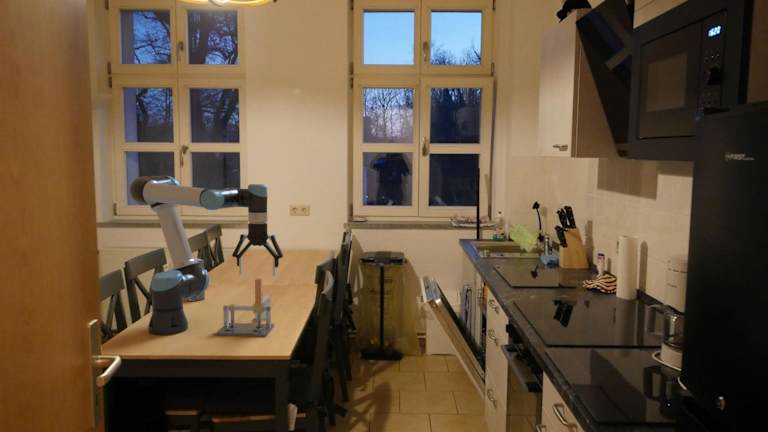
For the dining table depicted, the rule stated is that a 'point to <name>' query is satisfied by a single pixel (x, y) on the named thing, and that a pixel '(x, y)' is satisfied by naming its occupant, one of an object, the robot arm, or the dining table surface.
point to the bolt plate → (245, 330)
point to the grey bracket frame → (244, 308)
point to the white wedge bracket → (267, 303)
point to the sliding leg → (258, 300)
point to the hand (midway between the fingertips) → (257, 274)
